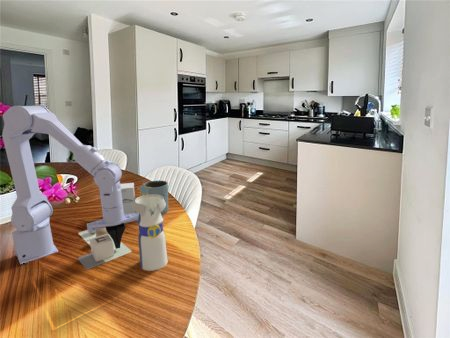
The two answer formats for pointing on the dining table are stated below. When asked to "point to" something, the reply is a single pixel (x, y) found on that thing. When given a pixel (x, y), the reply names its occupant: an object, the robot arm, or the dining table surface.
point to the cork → (101, 232)
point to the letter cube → (101, 247)
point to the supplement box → (128, 197)
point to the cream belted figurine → (151, 230)
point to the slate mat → (89, 261)
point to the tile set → (118, 251)
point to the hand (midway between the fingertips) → (117, 246)
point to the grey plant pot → (159, 191)
